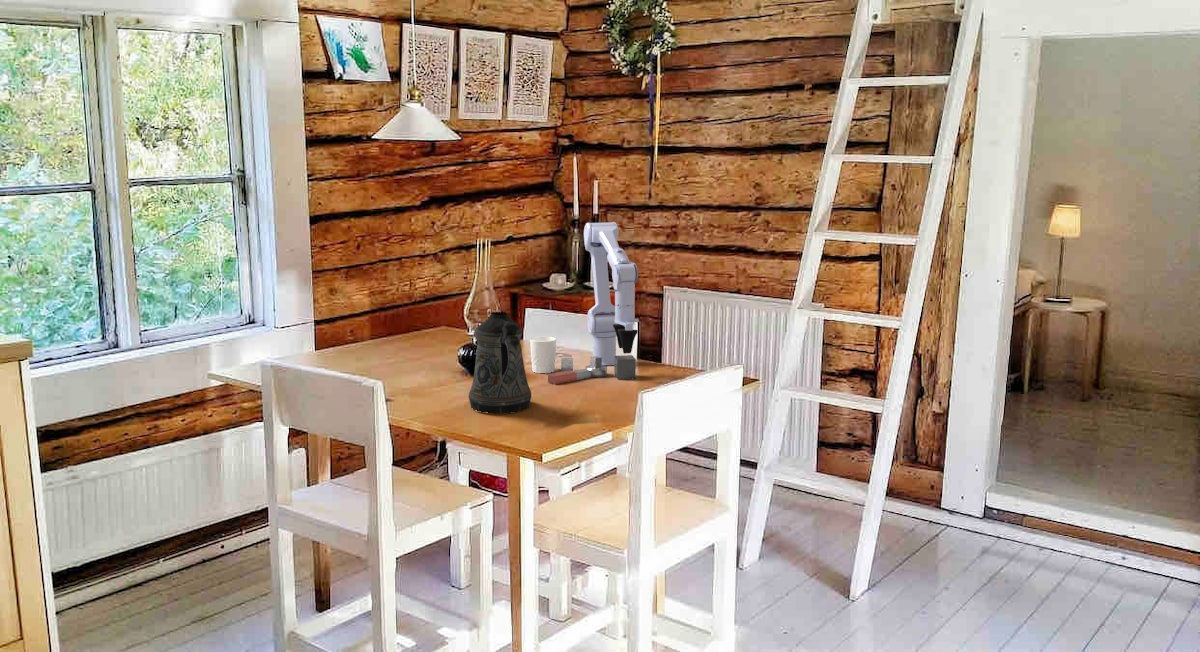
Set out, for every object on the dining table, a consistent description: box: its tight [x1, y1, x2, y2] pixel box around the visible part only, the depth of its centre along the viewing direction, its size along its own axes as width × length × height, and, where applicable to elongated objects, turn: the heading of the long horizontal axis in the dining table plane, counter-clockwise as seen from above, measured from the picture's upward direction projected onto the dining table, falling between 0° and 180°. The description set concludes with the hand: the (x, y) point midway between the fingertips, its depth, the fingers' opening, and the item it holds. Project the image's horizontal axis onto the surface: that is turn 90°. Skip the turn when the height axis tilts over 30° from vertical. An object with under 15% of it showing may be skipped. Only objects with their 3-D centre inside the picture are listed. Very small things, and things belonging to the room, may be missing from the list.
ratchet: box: [547, 356, 608, 385], centre depth 293 cm, size 20×6×6 cm, turn 129°
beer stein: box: [468, 311, 532, 414], centre depth 260 cm, size 16×19×25 cm
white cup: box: [529, 336, 557, 374], centre depth 303 cm, size 8×8×10 cm
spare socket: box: [560, 357, 574, 372], centre depth 302 cm, size 4×4×4 cm
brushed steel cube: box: [613, 354, 637, 380], centre depth 295 cm, size 5×5×6 cm
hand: (624, 350), depth 294 cm, fingers open, 7 cm apart
